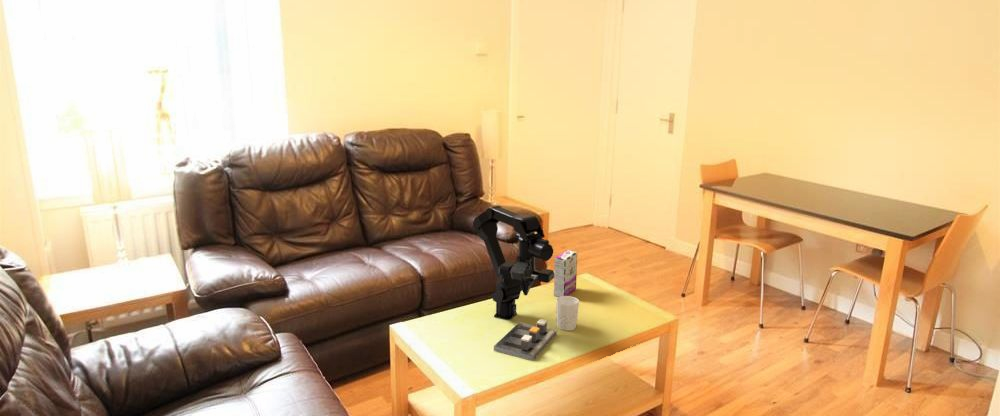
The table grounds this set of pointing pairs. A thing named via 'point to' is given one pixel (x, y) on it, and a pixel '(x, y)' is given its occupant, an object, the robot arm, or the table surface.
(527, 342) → the block
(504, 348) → the panel
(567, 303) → the white cup
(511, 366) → the table surface
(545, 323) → the block
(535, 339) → the block
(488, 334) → the table surface
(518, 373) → the table surface
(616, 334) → the table surface
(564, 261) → the candy bar box
